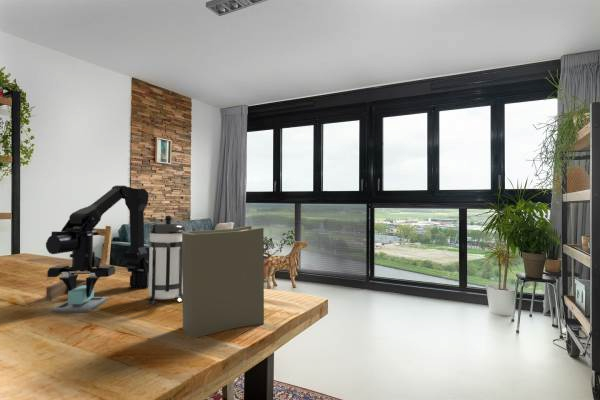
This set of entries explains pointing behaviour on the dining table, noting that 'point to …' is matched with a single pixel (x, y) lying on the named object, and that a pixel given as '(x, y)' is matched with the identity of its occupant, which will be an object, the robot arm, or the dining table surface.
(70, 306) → the tray
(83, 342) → the dining table surface
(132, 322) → the dining table surface
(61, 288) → the bay
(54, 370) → the dining table surface
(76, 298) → the block
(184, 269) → the book
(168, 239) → the coffee press
